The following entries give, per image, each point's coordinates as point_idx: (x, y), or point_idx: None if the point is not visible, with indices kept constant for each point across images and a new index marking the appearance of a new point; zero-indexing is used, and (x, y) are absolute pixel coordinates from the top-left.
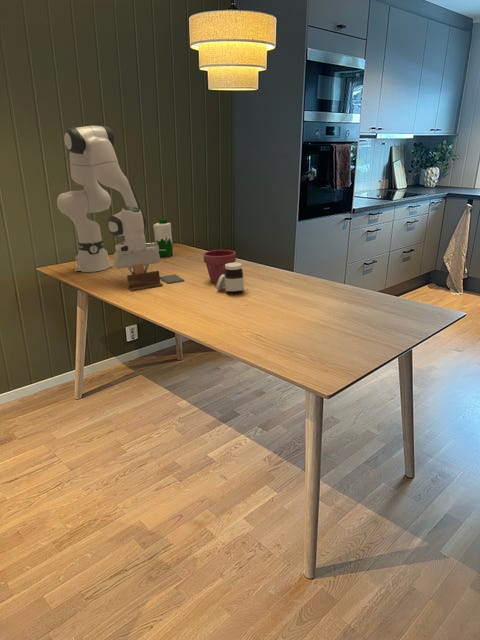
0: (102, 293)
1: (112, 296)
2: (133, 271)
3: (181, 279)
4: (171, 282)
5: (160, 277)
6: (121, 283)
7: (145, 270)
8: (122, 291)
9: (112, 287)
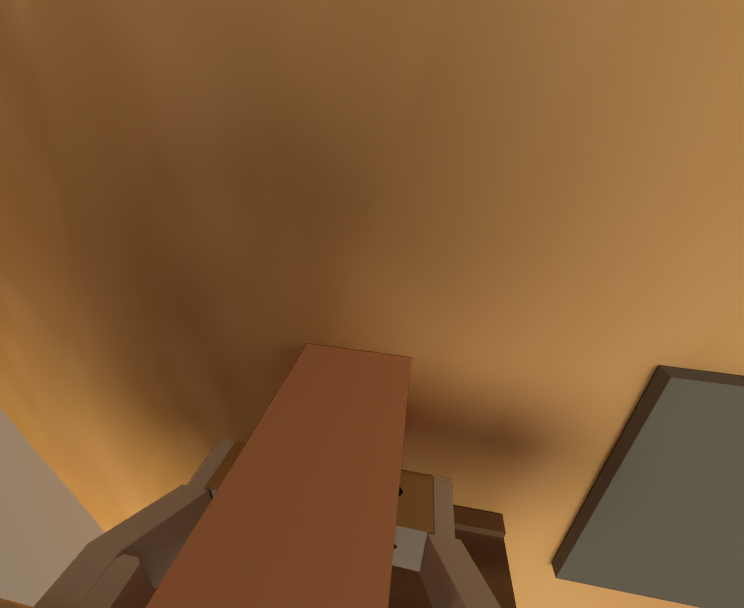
0: (34, 432)
1: (112, 515)
2: (236, 480)
3: (740, 597)
4: (593, 581)
5: (657, 415)
6: (167, 272)
7: (422, 580)
8: (173, 482)
9: (85, 347)
